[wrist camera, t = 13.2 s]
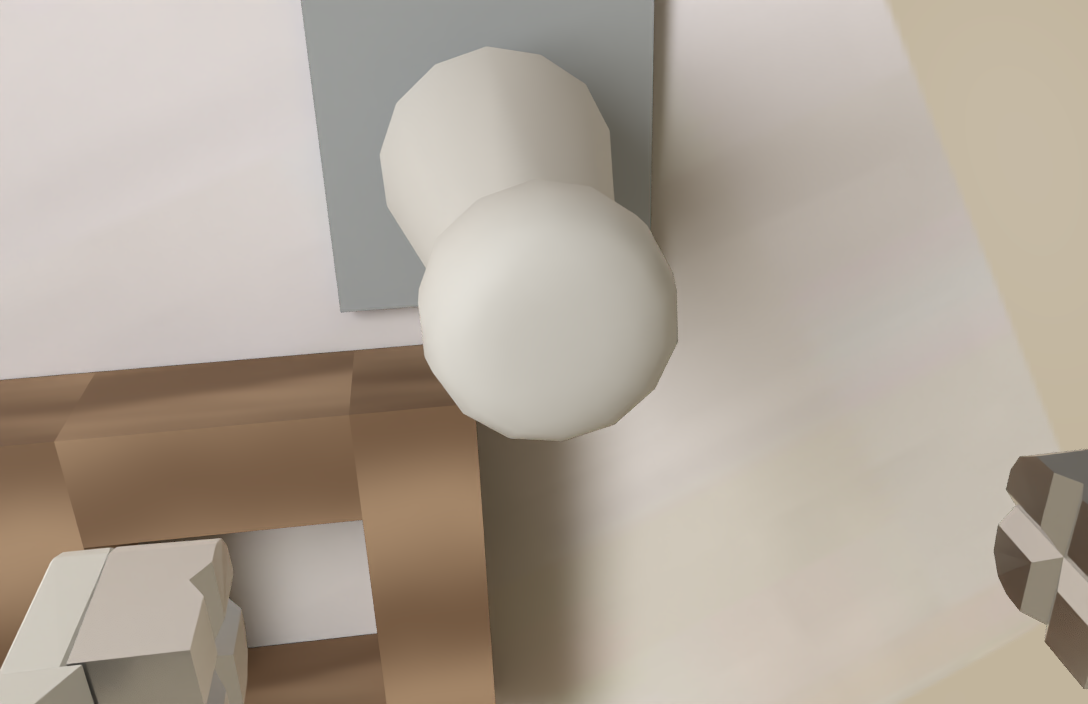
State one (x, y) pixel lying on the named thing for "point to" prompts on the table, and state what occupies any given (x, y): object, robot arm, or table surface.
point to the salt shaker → (526, 248)
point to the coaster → (406, 56)
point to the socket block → (268, 500)
